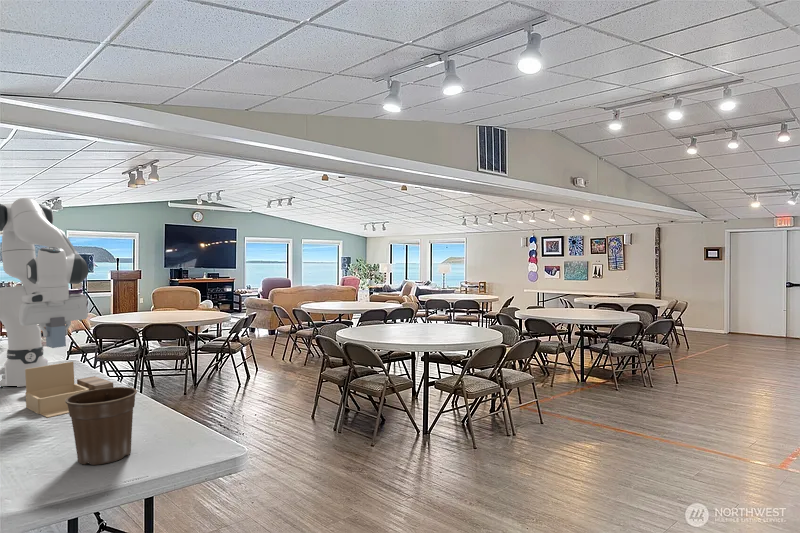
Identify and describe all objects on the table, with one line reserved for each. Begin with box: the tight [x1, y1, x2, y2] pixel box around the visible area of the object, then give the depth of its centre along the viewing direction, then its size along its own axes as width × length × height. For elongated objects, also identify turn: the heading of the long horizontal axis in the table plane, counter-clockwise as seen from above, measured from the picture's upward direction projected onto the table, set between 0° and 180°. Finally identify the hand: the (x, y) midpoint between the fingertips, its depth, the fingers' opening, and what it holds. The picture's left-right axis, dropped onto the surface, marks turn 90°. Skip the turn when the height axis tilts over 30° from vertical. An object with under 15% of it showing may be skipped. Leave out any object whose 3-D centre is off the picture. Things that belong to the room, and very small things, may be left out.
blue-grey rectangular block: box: [45, 317, 67, 349], centre depth 190 cm, size 6×4×10 cm, turn 50°
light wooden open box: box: [25, 361, 89, 419], centre depth 188 cm, size 20×16×13 cm
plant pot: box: [65, 386, 138, 466], centre depth 143 cm, size 16×16×16 cm
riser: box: [76, 375, 114, 391], centre depth 200 cm, size 16×6×6 cm, turn 50°
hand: (55, 335), depth 190 cm, fingers closed on blue-grey rectangular block, 4 cm apart
